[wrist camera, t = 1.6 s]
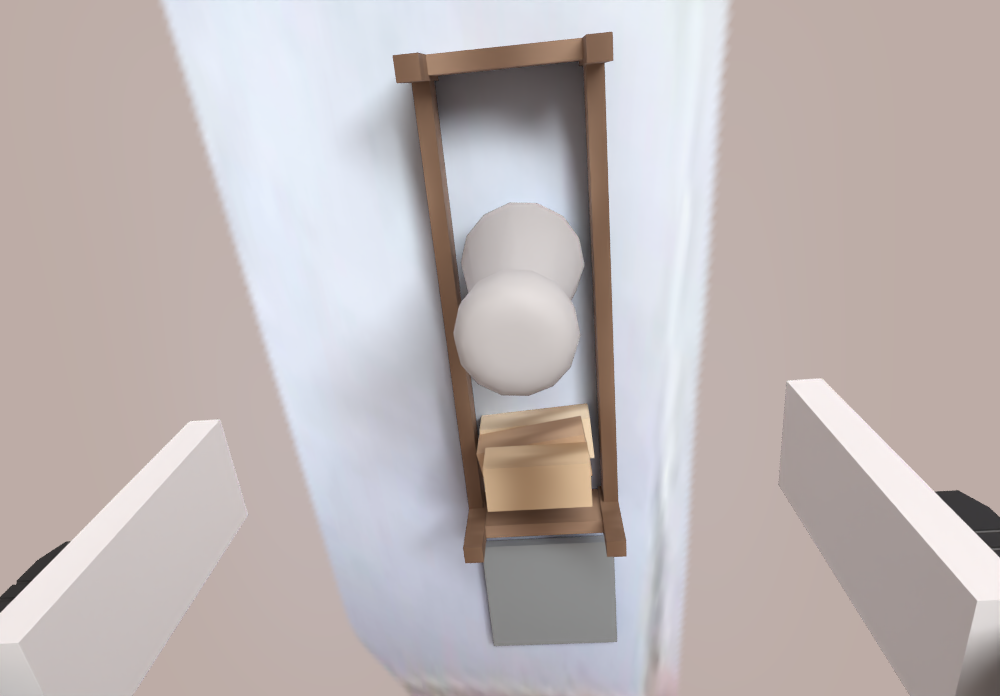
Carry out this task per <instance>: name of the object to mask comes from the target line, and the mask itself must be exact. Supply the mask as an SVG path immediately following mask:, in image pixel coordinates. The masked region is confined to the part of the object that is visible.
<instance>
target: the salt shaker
mask: <svg viewBox="0 0 1000 696" xmlns="http://www.w3.org/2000/svg"><path fill="white" fill-rule="evenodd" d="M461 265H462V269H463V273H464V278H465V282H466V286H467V290H468V294H467V295H466V297H465V298H464V299H463V300H462V301H461V303H460V305H459V308H458V313H457V318H456V323H455V328H454V332H453V333H454V340H455V344H456V348H457V352H458V356H459V360H460V363H461V365H462V367H463V368H464V369H465V370H466V371H467V372H468V373H469V374H470V376H471V377H472V378H473V379H474V380H475V381H476V382H477V383H478V384H479V385H481V386H483V387H485V388H488V389H490V390H492V391H494V392H496V393H498V394H500V395H518V396H529V395H532V394H534V393H537V392H539V391H542V390H544V389H547V388H549V387H552V386H554V385H555V384H556V382H557V381H558V380H559V379H560V378H561V377H562V376H563V375H564V374H565V373H566V372H567V371H568V369H569V368H570V367H571V365H572V361H573V358H574V355H575V352H576V349H577V346H578V342H579V339H580V336H581V335H580V330H579V326H578V321H577V316H576V311H575V308H574V305H573V303H572V302H571V300H572V298H573V296H574V294H575V292H576V290H577V287H578V284H579V281H580V278H581V275H582V271H583V268H584V260H583V255H582V250H581V245H580V240H579V237H578V236H577V235H576V233H575V232H574V230H573V229H572V228H571V226H570V225H569V224H568V222H567V221H566V219H565V218H564V217H563V216H562V215H560V214H558V213H556V212H554V211H552V210H550V209H548V208H546V207H544V206H542V205H540V204H538V203H508V204H506V205H504V206H501V207H499V208H497V209H495V210H493V211H491V212H489V213H487V214H485V215H483V217H482V218H481V219H480V220H479V222H478V223H477V224H476V225H475V227H474V228H473V229H472V230H471V231H470V233H469V234H468V235H467V236H466V241H465V246H464V250H463V255H462V260H461Z"/></svg>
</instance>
